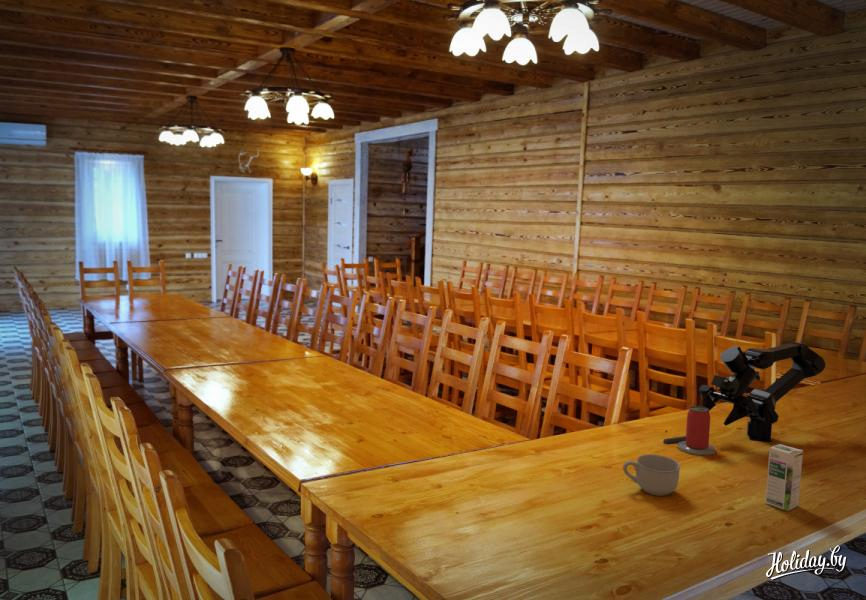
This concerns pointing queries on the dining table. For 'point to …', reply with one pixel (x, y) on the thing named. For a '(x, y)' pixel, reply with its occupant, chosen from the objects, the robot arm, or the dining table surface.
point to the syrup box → (784, 477)
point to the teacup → (655, 473)
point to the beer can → (698, 427)
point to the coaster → (703, 452)
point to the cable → (674, 439)
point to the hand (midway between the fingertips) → (712, 420)
